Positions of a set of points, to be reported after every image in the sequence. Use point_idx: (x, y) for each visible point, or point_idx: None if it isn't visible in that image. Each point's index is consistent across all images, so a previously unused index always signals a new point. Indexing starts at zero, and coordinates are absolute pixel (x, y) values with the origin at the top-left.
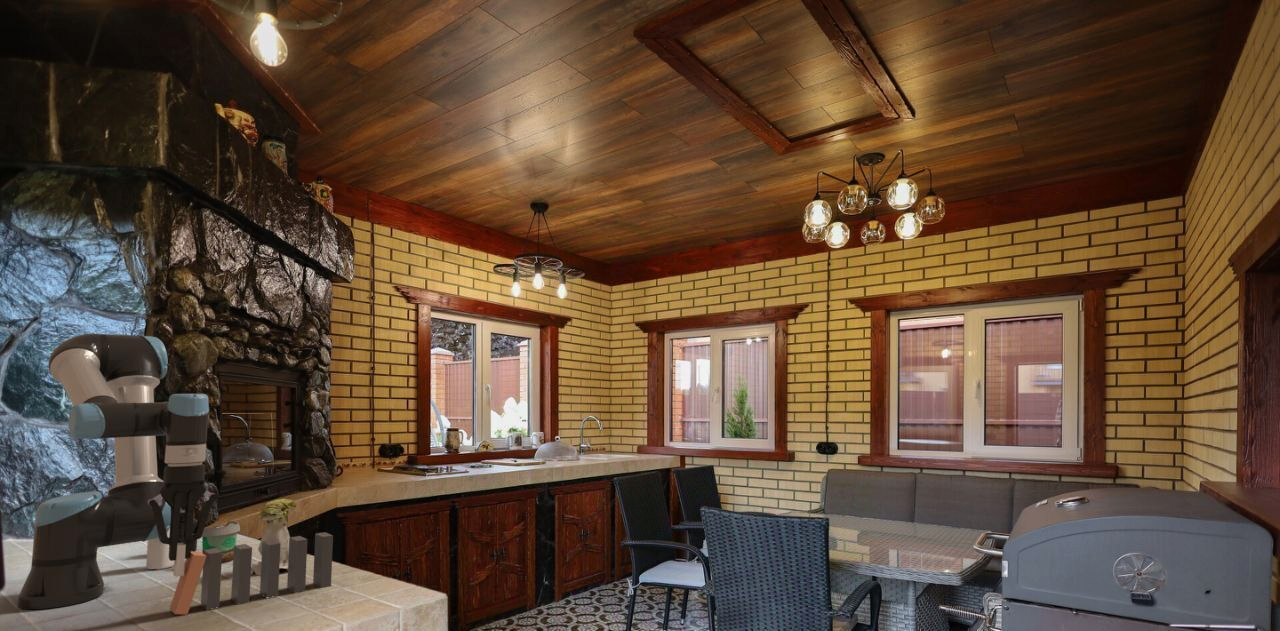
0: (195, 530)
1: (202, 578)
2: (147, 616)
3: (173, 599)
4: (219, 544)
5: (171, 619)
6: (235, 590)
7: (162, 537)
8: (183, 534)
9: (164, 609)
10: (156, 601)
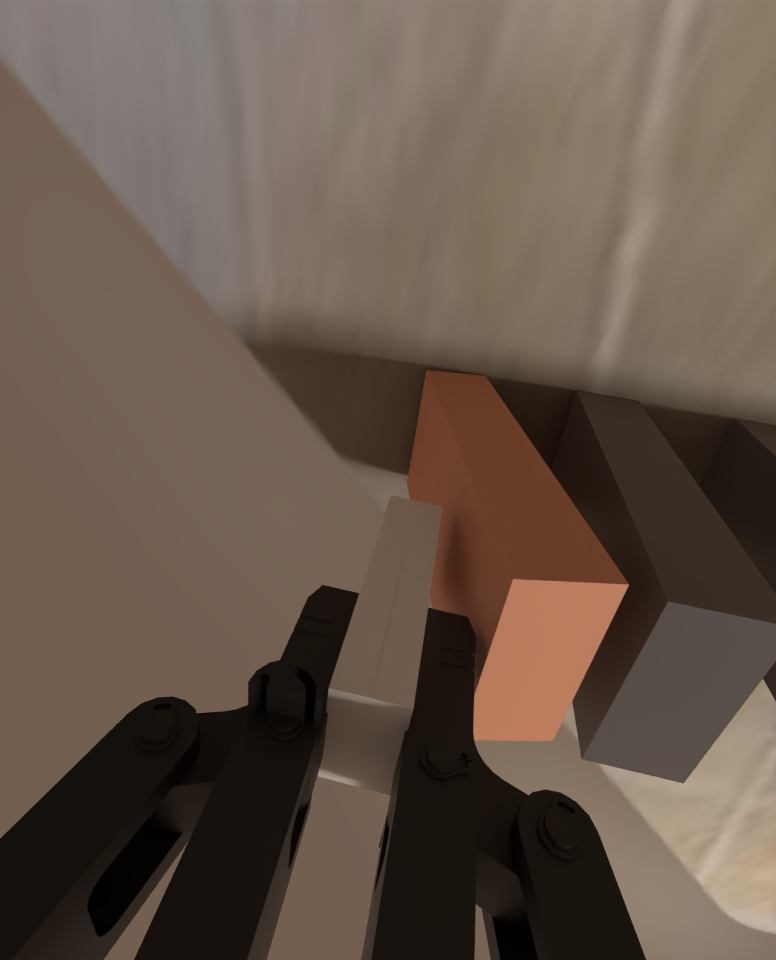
0: (539, 928)
1: (603, 461)
2: (329, 363)
3: (430, 406)
4: None
5: (388, 496)
6: (725, 521)
7: (117, 856)
8: (393, 820)
9: (425, 303)
10: (464, 27)
